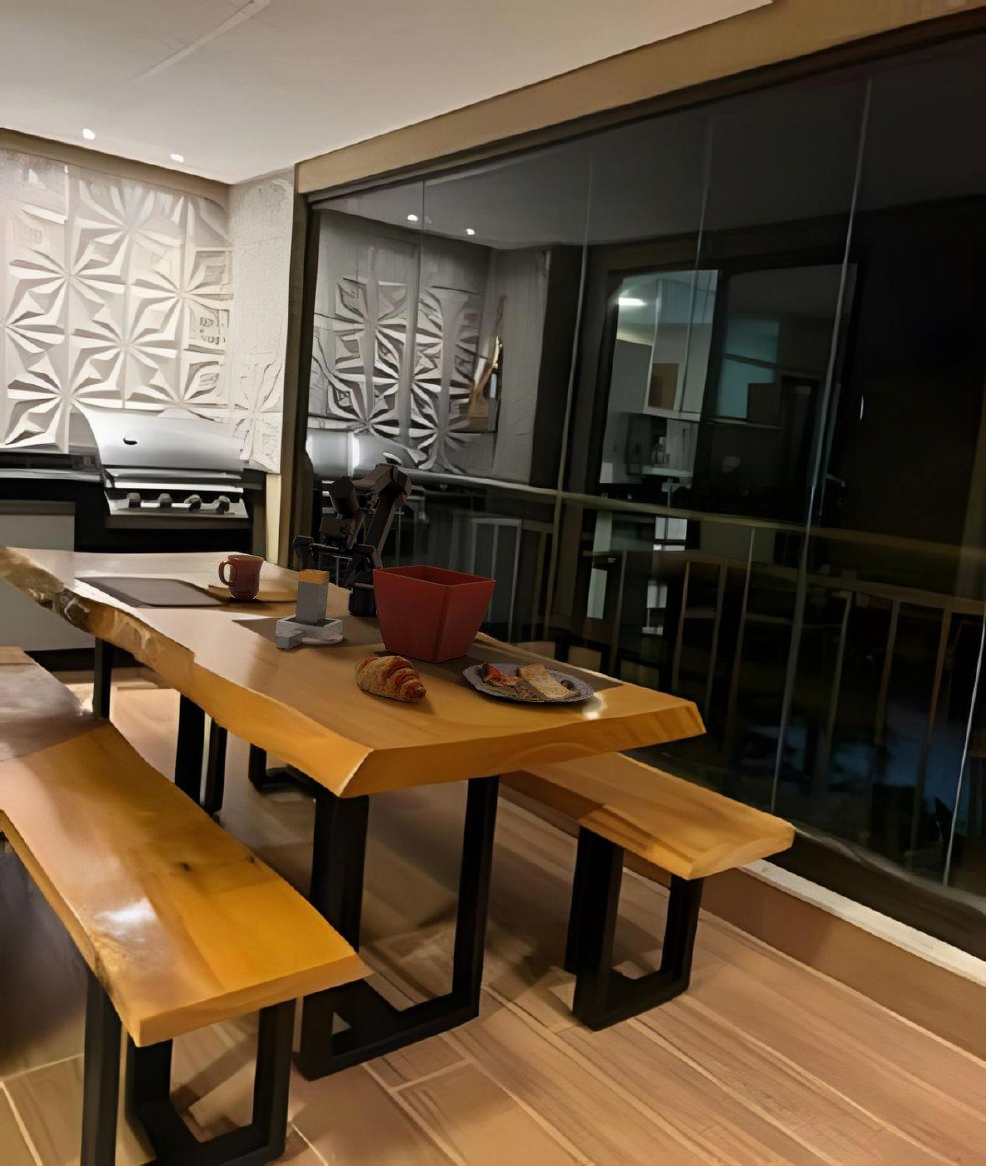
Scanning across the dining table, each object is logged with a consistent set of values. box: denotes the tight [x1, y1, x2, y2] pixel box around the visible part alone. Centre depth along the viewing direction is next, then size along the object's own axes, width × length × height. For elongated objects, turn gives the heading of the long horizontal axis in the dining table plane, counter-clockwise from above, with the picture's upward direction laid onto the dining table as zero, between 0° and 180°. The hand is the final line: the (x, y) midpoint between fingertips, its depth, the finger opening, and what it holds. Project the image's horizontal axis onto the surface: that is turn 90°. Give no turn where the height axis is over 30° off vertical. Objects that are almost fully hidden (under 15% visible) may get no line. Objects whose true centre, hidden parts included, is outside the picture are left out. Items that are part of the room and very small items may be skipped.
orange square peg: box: [295, 568, 331, 627], centre depth 205 cm, size 5×5×13 cm
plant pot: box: [373, 564, 497, 664], centre depth 202 cm, size 19×19×17 cm
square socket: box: [275, 613, 344, 650], centre depth 202 cm, size 20×14×4 cm
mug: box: [217, 554, 265, 602], centre depth 238 cm, size 12×9×10 cm
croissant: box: [353, 655, 427, 703], centre depth 171 cm, size 21×10×8 cm, turn 40°
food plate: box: [461, 661, 595, 703], centre depth 182 cm, size 25×23×4 cm
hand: (323, 582), depth 210 cm, fingers open, 9 cm apart
